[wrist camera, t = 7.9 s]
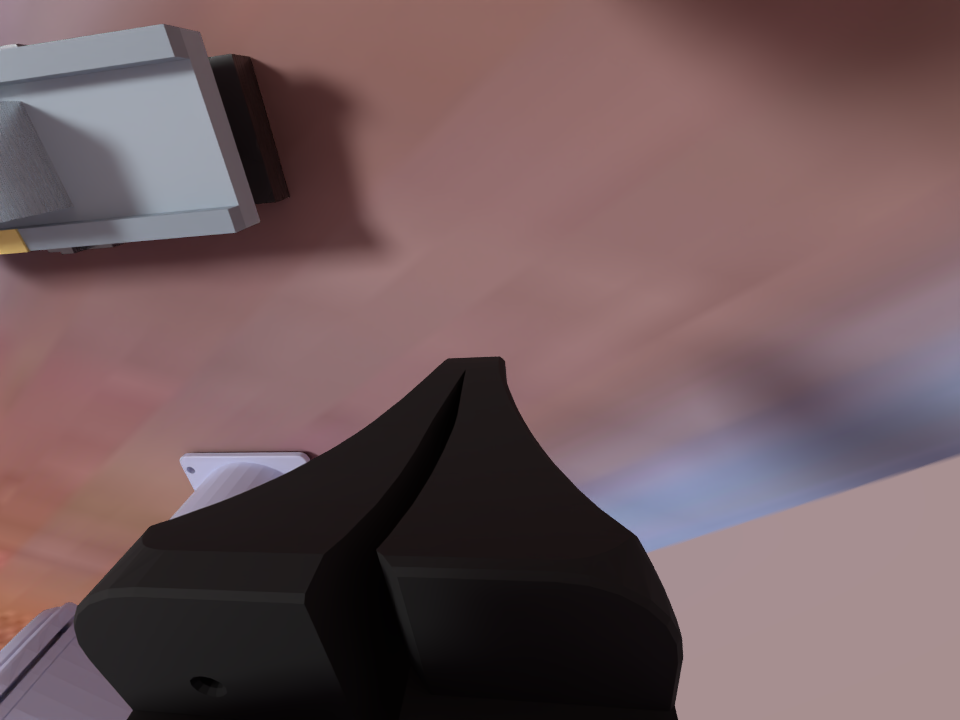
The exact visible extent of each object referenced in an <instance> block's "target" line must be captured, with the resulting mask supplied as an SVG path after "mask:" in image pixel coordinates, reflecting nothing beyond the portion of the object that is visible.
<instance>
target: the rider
mask: <svg viewBox="0 0 960 720" xmlns="http://www.w3.org/2000/svg"><path fill="white" fill-rule="evenodd" d="M69 207H74V206H73V204H72V202H71V200H70V198H69V196H68V194H67V192H66V190H65V188H64V186H63V184H62V182H61V180H60V178H59V176H58V174H57V171H56V169H55V167H54V165H53V163H52V161H51V159H50V157H49V155H48V153H47V151H46V149H45V147H44V145H43V143H42V141H41V139H40V137H39V135H38V133H37V131H36V129H35V127H34V125H33V123H32V121H31V119H30V117H29V115H28V113H27V111H26V109H25V107H24V105H23V103H22V101H0V223H1V222H5V221H10V220H15V219H19V218H24V217H28V216H33V215H37V214H42V213H46V212H51V211H55V210H60V209H64V208H69Z"/></svg>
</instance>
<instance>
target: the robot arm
mask: <svg viewBox="0 0 960 720" xmlns="http://www.w3.org/2000/svg"><path fill="white" fill-rule="evenodd" d="M180 464H181V466H182V467H183V469H184V471H185V473H186V475H187V477H188V479H189V481H190V483H191V485H192V486H193V488H194V490H195V491H194V493H193V494H192V495H191V496H190V497H189V498H188V499H187V500H186V502H185V503H184V504H183V505H182V506H181V507H180V508H179V509H178V511H177V512H176V513H175V514H174V515H173V516H172V517H171V518H170V520H168V521H165V522H162V523H159V524H156V525H152V526H150V527H149V528H148V529H147V530H146V532H145V533H144V534H143V535H142V536H141V537H140V538H139V539H138V540H137V541H136V542H135V544H134V545H133V546H132V547H131V548H130V549H129V550H128V551H127V552H126V553H125V555H124V556H123V557H122V558H121V559H120V560H119V561H118V562H117V563H116V564H115V565H114V567H113V568H112V569H111V570H110V571H109V572H108V573H107V574H106V575H105V576H104V578H103V579H102V580H101V581H100V582H99V583H98V584H97V585H96V586H95V587H94V588H93V590H92V591H91V592H90V593H89V594H88V595H87V596H86V597H85V598H84V599H83V600H82V602H81V603H80V604H79V605H76V604H74V603H71V602H68V603H65V604H64V605H63V606H61V607H55V608H51V609H47V610H44V611H42V612H41V613H40V614H39V615H37V616H36V617H35V618H34V619H33V620H32V621H31V622H30V623H29V624H28V625H26V626H25V627H24V628H23V629H22V630H21V631H20V632H19V633H18V634H17V635H16V636H15V637H14V638H13V639H12V640H11V641H10V642H9V643H8V644H7V645H6V646H5V647H4V648H3V649H2V650H1V651H0V720H678V718H677V714H676V709H675V700H676V695H677V689H678V683H679V678H680V672H681V666H682V660H683V648H682V637H681V632H680V629H679V626H678V622H677V619H676V617H675V614H674V612H673V609H672V606H671V604H670V601H669V599H668V597H667V594H666V592H665V589H664V587H663V585H662V583H661V581H660V579H659V577H658V575H657V573H656V571H655V569H654V566H653V565H652V563H651V561H650V559H649V557H648V555H647V553H646V552H645V550H644V548H643V546H642V544H641V543H640V541H639V539H638V537H637V536H636V535H634V534H633V533H632V532H631V531H629V530H628V529H626V528H625V527H624V526H622V525H621V524H620V523H618V522H617V521H616V520H614V519H613V518H612V517H610V516H609V515H608V514H606V513H605V512H604V511H602V510H601V509H600V508H599V507H597V506H596V505H595V504H594V503H593V502H592V501H591V500H590V499H589V498H587V497H586V496H585V495H584V494H583V493H582V492H581V491H580V490H579V489H578V488H577V487H576V486H575V485H574V484H573V483H572V482H571V481H570V480H569V479H568V478H567V477H566V476H565V475H564V473H563V472H562V471H561V470H560V469H559V468H558V467H557V466H556V465H555V464H554V463H553V462H552V460H551V459H550V458H549V456H548V455H547V454H546V453H545V451H544V450H543V449H542V448H541V446H540V445H539V443H538V442H537V441H536V439H535V438H534V436H533V435H532V433H531V432H530V430H529V428H528V427H527V425H526V423H525V422H524V420H523V418H522V416H521V414H520V413H519V411H518V409H517V407H516V405H515V402H514V400H513V398H512V395H511V393H510V390H509V388H508V385H507V378H506V367H505V361H504V360H503V359H502V358H501V357H475V358H449V359H447V360H445V361H444V362H443V363H442V364H441V365H439V366H438V367H437V368H436V369H435V370H434V371H433V372H432V373H431V374H430V375H428V376H427V377H426V378H425V379H424V380H423V381H422V382H421V383H420V384H418V385H417V386H416V387H415V388H414V389H413V390H412V391H411V392H409V393H408V394H407V395H406V396H405V397H404V398H403V399H401V400H400V401H399V402H398V403H396V404H395V405H394V406H392V407H391V408H390V409H389V410H387V411H386V412H385V413H384V414H382V415H381V416H380V417H379V418H377V419H376V420H375V421H373V422H372V423H371V424H369V425H368V426H367V427H365V428H364V429H362V430H361V431H359V432H358V433H356V434H355V435H353V436H352V437H350V438H348V439H347V440H345V441H344V442H342V443H341V444H339V445H337V446H336V447H334V448H332V449H331V450H329V451H327V452H325V453H323V454H322V455H320V456H318V457H316V458H314V459H312V460H310V459H309V457H308V456H307V455H306V454H305V453H302V452H252V453H186V454H184V455H183V456H182V457H181V458H180Z"/></svg>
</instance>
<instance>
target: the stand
mask: <svg viewBox="0 0 960 720" xmlns="http://www.w3.org/2000/svg"><path fill="white" fill-rule="evenodd" d="M20 46H27V45H22V44H12V45H6V46H0V50H1V49H8V48H14V47H20ZM208 59H209V62H210V65H211V68H212V71H213V74H214V78H215V81H216V84H217V87H218V90H219V93H220V96H221V100H222V103H223V106H224V109H225V112H226V115H227V118H228V121H229V125H230V128H231V131H232V134H233V137H234V140H235V143H236V147H237V150H238V153H239V156H240V159H241V162H242V165H243V168H244V172H245V175H246V178H247V181H248V184H249V187H250V190H251V194H252V197H253V200H254V203H255V204H261V203H271V202H277V201H280V200H283V199H285V198H288V197H290V196H289V193H288V189H287V186H286V182H285V179H284V175H283V172H282V168H281V165H280V161H279V158H278V154H277V150H276V147H275V143H274V140H273V136H272V133H271V129H270V126H269V122H268V119H267V115H266V112H265V108H264V105H263V101H262V98H261V94H260V91H259V87H258V83H257V80H256V76H255V73H254V69H253V66H252V62H251V59H250V57H247V56H241V55H235V54H227V55H221V56H214V57H208ZM125 243H127V242H125ZM121 244H124V243H114V244H102V245H91V246H80V247H68V248H57V249H47V250H48V252H61V253H62V254H72V253H77V252H80V251H83V250H86V249H97V248H109V247H115V246H118V245H121Z"/></svg>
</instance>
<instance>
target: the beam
mask: <svg viewBox="0 0 960 720" xmlns="http://www.w3.org/2000/svg"><path fill="white" fill-rule="evenodd" d="M0 101H22V103H23V105H24V107H25V109H26V111H27V113H28V115H29V117H30V119H31V121H32V123H33V125H34V127H35V129H36V131H37V133H38V135H39V137H40V139H41V141H42V143H43V145H44V147H45V149H46V151H47V153H48V155H49V157H50V159H51V161H52V163H53V165H54V167H55V169H56V171H57V174H58V176H59V178H60V180H61V182H62V184H63V186H64V188H65V190H66V192H67V194H68V196H69V198H70V200H71V202H72V204H73V206H74V207H69V208H64V209H60V210H55V211H51V212H46V213H42V214H37V215H33V216H28V217H24V218H19V219H15V220H10V221H5V222H1V223H0V254H11V253H23V252H30V251H34V250H46V249H57V248H68V247H80V246H91V245H102V244H114V243H125V242H136V241H148V240H159V239H170V238H182V237H193V236H204V235H216V234H227V233H236V232H239V231H241V230H243V229H246V228H248V227H250V226H253V225H255V224H257V223H260V219H259V215H258V212H257V209H256V206H255V203H254V200H253V197H252V194H251V190H250V187H249V184H248V181H247V178H246V175H245V172H244V168H243V165H242V162H241V159H240V156H239V153H238V150H237V147H236V143H235V140H234V137H233V134H232V131H231V128H230V125H229V121H228V118H227V115H226V112H225V109H224V106H223V103H222V100H221V96H220V93H219V90H218V87H217V84H216V81H215V78H214V74H213V71H212V68H211V65H210V62H209V59H208V56H207V53H206V49H205V46H204V43H203V40H202V37H201V34H200V32H198V31H193V30H189V29H184V28H179V27H175V26H170V25H166V24H159V25H153V26H147V27H140V28H134V29H128V30H122V31H115V32H109V33H103V34H96V35H90V36H84V37H77V38H71V39H65V40H58V41H52V42H46V43H39V44H33V45H27V46H20V47H14V48H8V49H1V50H0Z"/></svg>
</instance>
